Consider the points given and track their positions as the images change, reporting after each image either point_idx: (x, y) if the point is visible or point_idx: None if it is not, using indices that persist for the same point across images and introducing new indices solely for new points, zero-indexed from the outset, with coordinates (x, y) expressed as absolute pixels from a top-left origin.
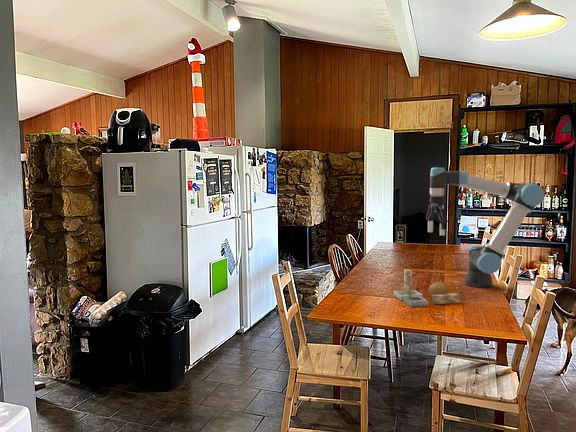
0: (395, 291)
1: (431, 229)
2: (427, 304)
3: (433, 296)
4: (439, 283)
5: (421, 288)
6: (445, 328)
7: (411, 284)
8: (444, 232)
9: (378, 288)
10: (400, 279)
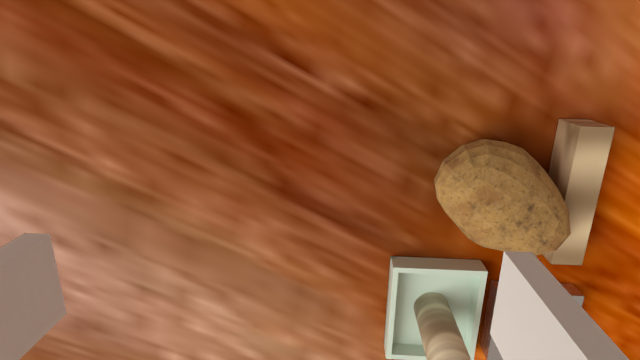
0: (391, 352)
1: (14, 290)
2: (574, 287)
3: (568, 262)
4: (512, 205)
5: (290, 172)
6: None
7: (462, 338)
8: (558, 293)
9: (252, 352)
10: (87, 189)
